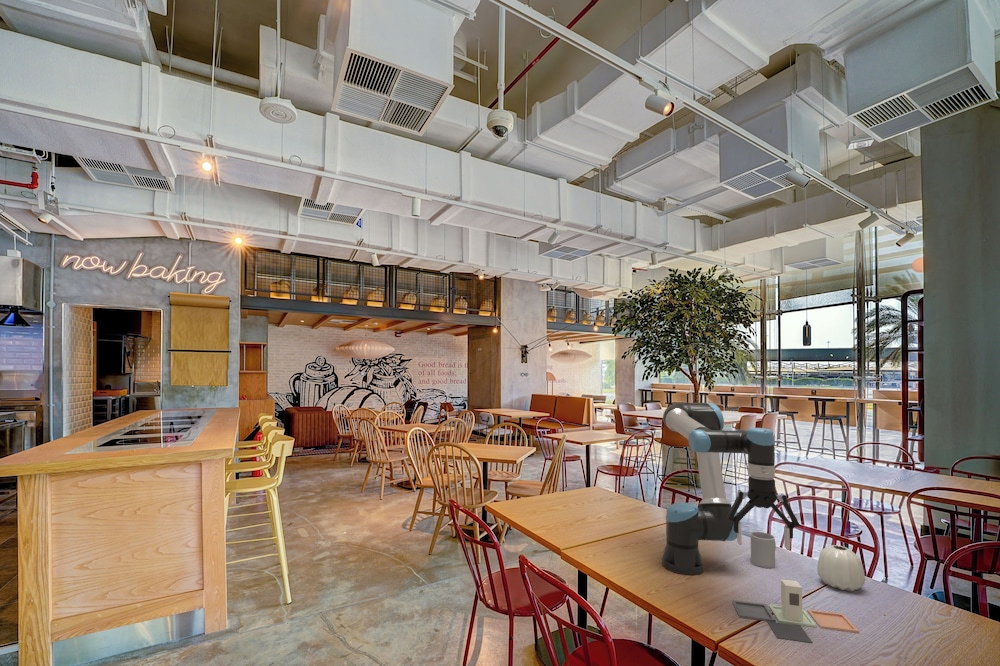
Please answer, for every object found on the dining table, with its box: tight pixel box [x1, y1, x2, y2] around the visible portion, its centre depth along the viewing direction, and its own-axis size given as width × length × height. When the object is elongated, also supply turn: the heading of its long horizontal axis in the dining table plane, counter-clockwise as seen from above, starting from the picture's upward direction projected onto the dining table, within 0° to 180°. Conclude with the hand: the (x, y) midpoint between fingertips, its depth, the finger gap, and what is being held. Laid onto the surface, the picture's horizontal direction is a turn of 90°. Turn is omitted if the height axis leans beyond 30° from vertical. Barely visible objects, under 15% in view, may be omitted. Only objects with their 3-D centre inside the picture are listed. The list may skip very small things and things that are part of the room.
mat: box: [766, 621, 813, 644], centre depth 139 cm, size 9×9×1 cm
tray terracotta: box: [806, 609, 860, 634], centre depth 145 cm, size 10×10×1 cm
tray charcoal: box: [731, 599, 777, 622], centre depth 150 cm, size 10×10×1 cm
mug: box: [750, 531, 777, 569], centre depth 190 cm, size 12×8×11 cm
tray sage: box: [768, 604, 818, 629], centre depth 148 cm, size 10×10×1 cm
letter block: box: [780, 579, 804, 621], centre depth 148 cm, size 4×5×10 cm
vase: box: [816, 544, 866, 592], centre depth 171 cm, size 14×14×13 cm
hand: (763, 546), depth 150 cm, fingers open, 13 cm apart
